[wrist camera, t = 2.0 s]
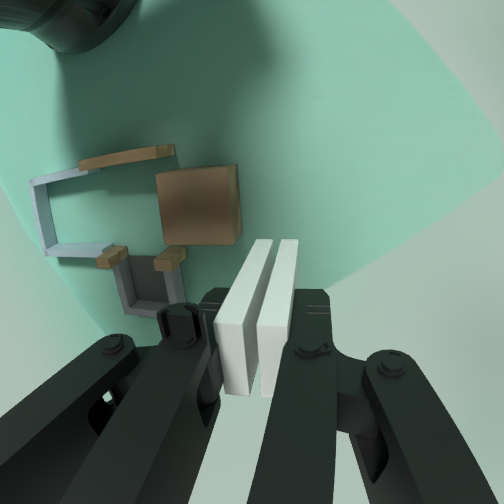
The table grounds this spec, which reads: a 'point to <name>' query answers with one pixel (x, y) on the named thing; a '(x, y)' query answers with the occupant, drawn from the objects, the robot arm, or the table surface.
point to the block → (200, 205)
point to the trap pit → (147, 286)
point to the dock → (46, 223)
